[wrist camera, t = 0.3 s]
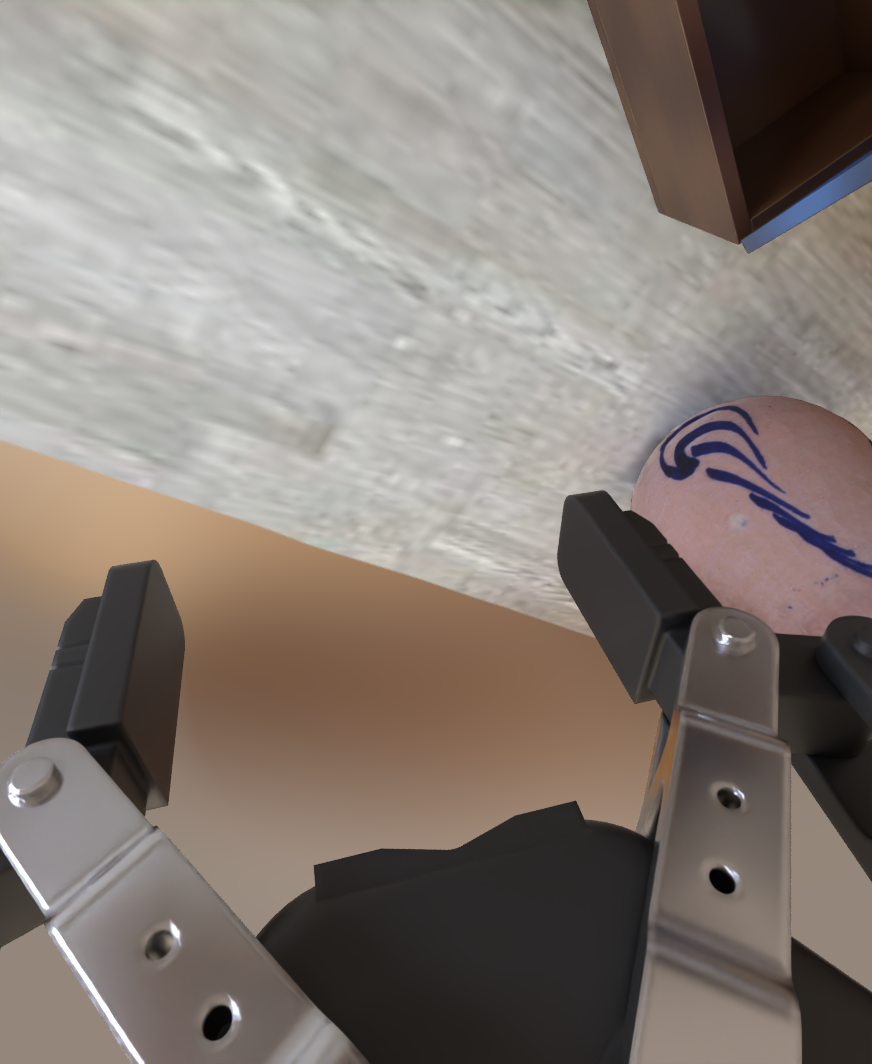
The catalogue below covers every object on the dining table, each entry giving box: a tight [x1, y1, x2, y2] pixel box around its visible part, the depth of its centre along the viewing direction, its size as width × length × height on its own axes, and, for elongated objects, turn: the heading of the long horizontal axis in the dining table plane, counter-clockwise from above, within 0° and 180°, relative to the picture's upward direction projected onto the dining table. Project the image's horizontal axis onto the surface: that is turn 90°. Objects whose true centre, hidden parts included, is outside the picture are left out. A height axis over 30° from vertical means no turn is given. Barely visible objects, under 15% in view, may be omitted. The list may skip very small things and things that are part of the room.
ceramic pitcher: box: [631, 396, 872, 636], centre depth 43 cm, size 18×21×25 cm
